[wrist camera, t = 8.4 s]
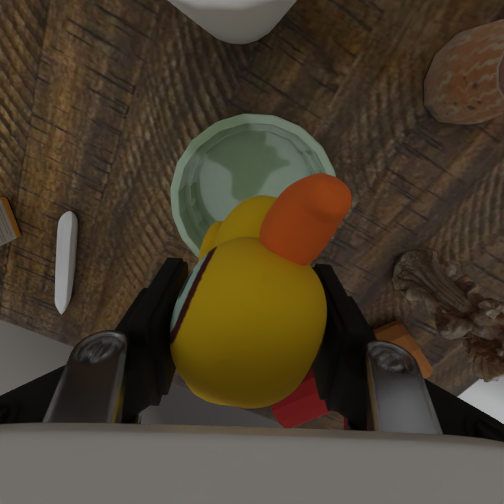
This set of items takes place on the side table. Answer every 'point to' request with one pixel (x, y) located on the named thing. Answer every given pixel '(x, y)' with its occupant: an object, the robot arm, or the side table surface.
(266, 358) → the duckling
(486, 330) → the figurine
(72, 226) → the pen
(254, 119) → the bowl
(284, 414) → the shotgun shell
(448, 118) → the vase
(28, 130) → the side table surface
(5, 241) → the supplement box
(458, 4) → the side table surface
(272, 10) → the cup
